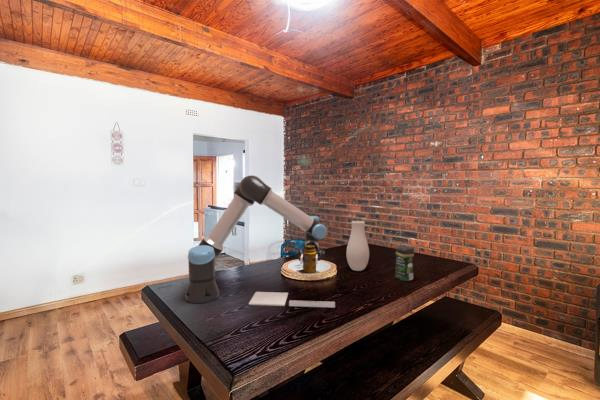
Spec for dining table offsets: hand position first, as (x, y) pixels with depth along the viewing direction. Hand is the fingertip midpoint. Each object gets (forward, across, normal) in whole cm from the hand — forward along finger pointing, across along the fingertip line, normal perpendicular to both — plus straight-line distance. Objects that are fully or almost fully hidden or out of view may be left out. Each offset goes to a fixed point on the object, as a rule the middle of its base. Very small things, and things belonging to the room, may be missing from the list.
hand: (308, 260), depth 131 cm
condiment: (-5, +1, -7) cm, 8 cm away
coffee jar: (-39, -51, -20) cm, 68 cm away
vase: (-54, -27, -20) cm, 64 cm away
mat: (-5, +19, -20) cm, 28 cm away
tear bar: (+1, -2, -20) cm, 20 cm away
